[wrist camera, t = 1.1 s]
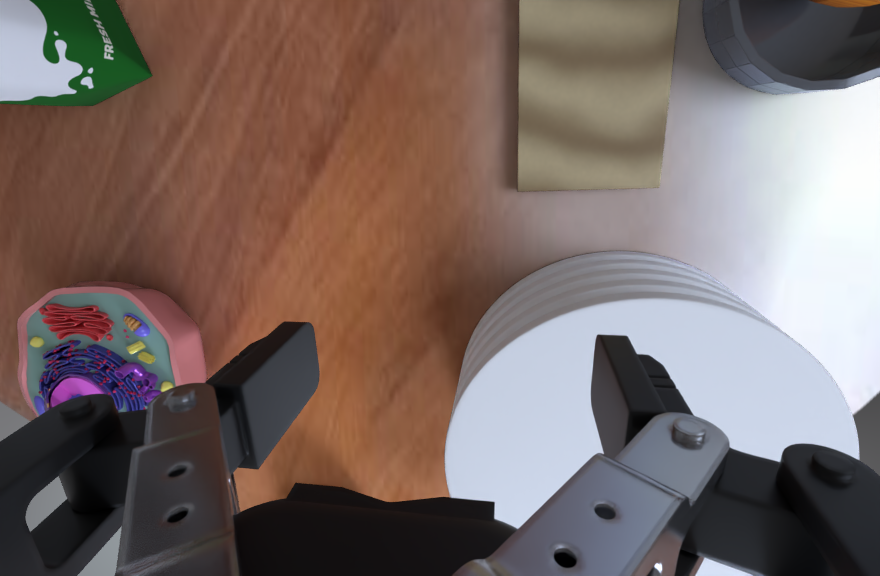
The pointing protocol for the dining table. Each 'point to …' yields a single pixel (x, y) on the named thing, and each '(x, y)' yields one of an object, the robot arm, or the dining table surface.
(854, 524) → the robot arm
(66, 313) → the cell model
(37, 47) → the milk carton
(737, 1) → the pan
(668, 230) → the dining table surface
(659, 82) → the board
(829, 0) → the carrot
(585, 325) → the plate stack
